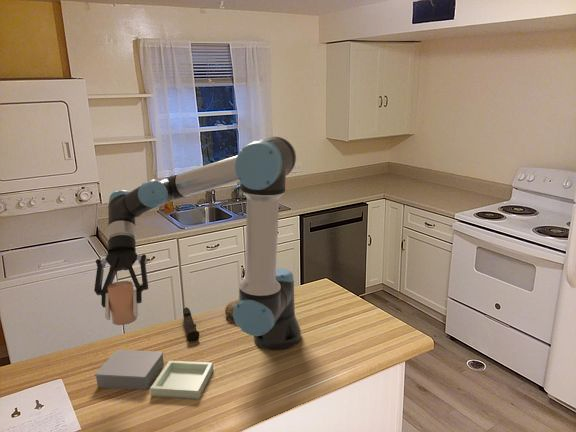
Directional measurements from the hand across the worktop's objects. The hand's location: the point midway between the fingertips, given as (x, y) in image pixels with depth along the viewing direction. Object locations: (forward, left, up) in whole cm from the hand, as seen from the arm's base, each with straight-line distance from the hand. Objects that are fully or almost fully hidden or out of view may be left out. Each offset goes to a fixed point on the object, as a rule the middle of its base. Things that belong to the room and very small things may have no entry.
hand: (121, 316), depth 122 cm
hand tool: (-5, -31, -21) cm, 37 cm away
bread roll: (-21, -42, -21) cm, 51 cm away
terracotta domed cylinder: (+1, -3, -3) cm, 5 cm away
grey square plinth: (+1, -3, -20) cm, 21 cm away
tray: (-15, -1, -20) cm, 25 cm away
